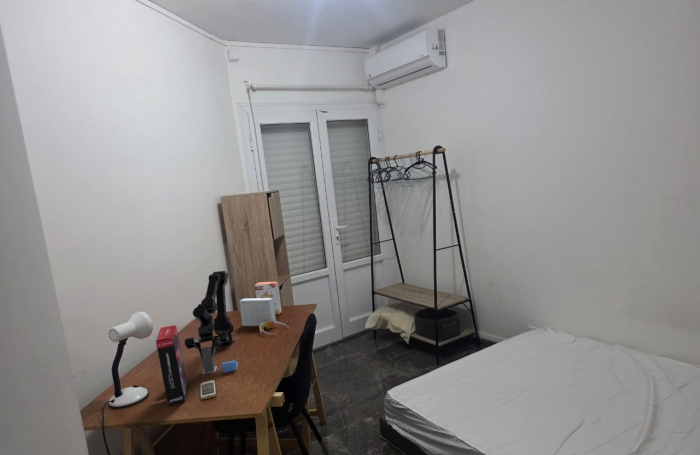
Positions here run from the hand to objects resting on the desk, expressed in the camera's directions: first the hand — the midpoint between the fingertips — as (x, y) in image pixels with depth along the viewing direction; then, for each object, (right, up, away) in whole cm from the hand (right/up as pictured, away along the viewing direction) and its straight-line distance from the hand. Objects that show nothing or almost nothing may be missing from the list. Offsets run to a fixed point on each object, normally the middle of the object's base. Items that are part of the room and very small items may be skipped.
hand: (207, 357), depth 183 cm
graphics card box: (-6, -10, -17) cm, 21 cm away
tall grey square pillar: (0, -6, +2) cm, 7 cm away
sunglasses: (+22, -1, +46) cm, 51 cm away
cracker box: (+13, +2, +80) cm, 81 cm away
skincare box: (+10, 0, +61) cm, 62 cm away
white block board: (+5, -7, +3) cm, 9 cm away
